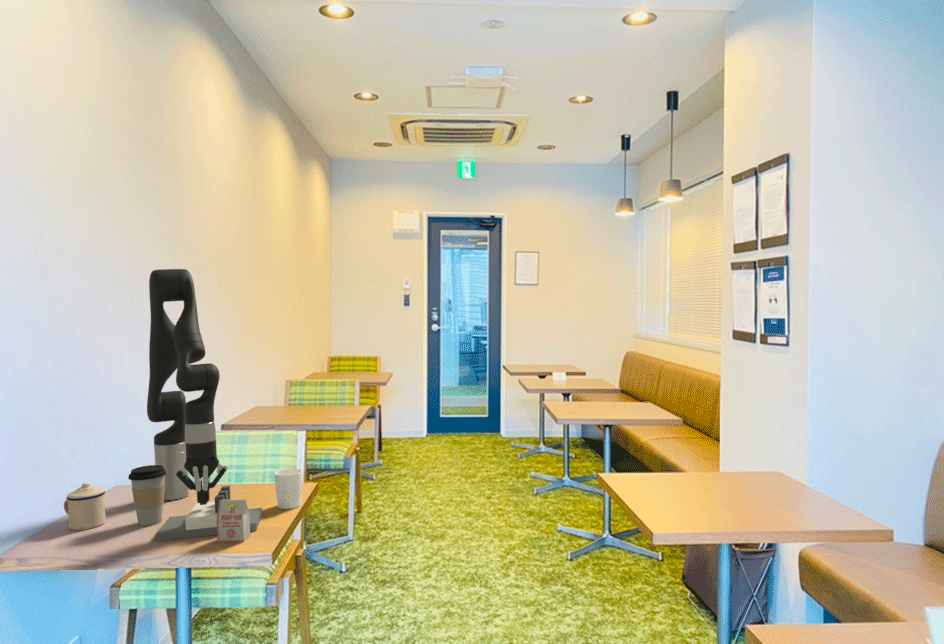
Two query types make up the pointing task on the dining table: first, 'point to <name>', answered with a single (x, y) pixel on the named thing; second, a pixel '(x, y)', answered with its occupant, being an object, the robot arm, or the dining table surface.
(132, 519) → the dining table surface
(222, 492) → the handle
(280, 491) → the white cup
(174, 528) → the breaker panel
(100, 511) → the teacup with lid
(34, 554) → the dining table surface
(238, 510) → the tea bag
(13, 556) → the dining table surface
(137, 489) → the coffee cup
